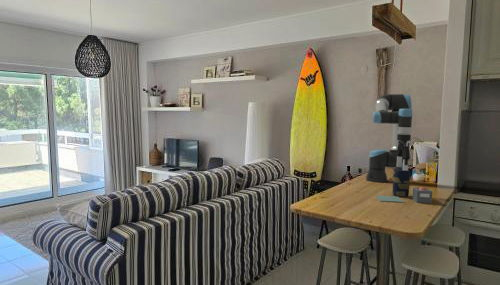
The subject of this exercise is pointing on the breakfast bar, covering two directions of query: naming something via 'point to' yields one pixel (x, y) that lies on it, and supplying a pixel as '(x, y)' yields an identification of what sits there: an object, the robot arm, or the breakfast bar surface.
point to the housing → (422, 195)
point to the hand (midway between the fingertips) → (402, 168)
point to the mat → (389, 199)
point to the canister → (401, 182)
